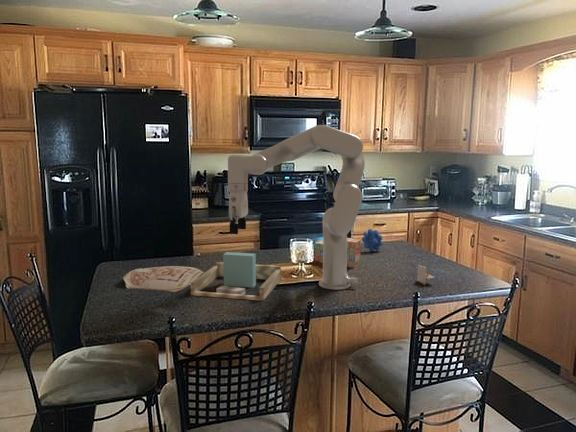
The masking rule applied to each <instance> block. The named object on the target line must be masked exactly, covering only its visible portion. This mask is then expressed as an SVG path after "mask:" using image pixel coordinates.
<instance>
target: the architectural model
mask: <svg viewBox="0 0 576 432" xmlns="http://www.w3.org/2000/svg"><path fill="white" fill-rule="evenodd" d="M428 279H435V276H433V275H431V274H430V273H429V272H427V266H422V265H420V264H417V282H419V283H421V284H423V285H426V280H428Z"/></svg>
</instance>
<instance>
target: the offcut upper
mask: <svg viewBox="0 0 576 432" xmlns="http://www.w3.org/2000/svg"><path fill="white" fill-rule="evenodd" d="M216 293H228V294H241V295H246V287H237V286H224V285H220V286H219V287H217V288H216Z"/></svg>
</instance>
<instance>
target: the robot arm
mask: <svg viewBox="0 0 576 432" xmlns="http://www.w3.org/2000/svg"><path fill="white" fill-rule="evenodd" d="M320 149H323V150H326V151H328V152H330V153H334V154H337V155H340V157H341V159H342V167H341V170H340V174H339V176H338V178H337V179H338V180H337V181H336V185H335V187H334V189H333V193H332V197H333V199H334V204H333V206H332V207H329V208H328V209H326V210H325V212H324V213H323V216H322V221H321V222H322V237H323V238H322V241H323V263H322V279H321V280H319V282H318V285H319V287H320V288H323V289H325V290H326V289H327V290H331V291H333V290H335V291H340V290H346V289H348V288H350V287H351V283H353V284H358V280H359V279H358V278H357V277H356V276H350V275H349V273H348V272H347V270H348V267H347V238H348V234H349V233H350V232H351V231H352V229H353V227H354V225H355V222H356V219H357V217H358V216H357V215H358V213H359V211H360V208H361V205H362V202H363V193H362V190H361V189H360V184H361V182H362V178H363V175H364V171H365V167H366V166H365V164H366V162H365V157H364V153H363V149H364V142H363V140H362V139H361V138H360V137H358V136H357V135H355V134H351V133H349V132H347V131H343V130H340V129H337V128H334V127H332V126H329V125H326V124H317V125H315V126H312V127H310V128H309V129H306V130H303V131H302V132H299V133H297V134H294V135H292V136H290V137H289V138H286V139H284V140H282V141H280V142H278V143H276V144H274V145H272V146H270V147H267V148H265V149H263V150H261V151H259V152H256V153H254V154H252V155H249V156H248V155H243V154H232V155H229V156H228V157H227V191H228V193H229V197H228V199H229V200H228V217H229V218H228V220H229V234H230V235H239V230H246V228H247V216H248V214H249V201H248V200H249V199H248V198H249V197H248V192H249V191H248V190H249V188H248V187H249V186H248V182H249V180H248V178H249V177H248V176H249V175H255V176H260V175H263V174H265V173H266V172H267V170H269V169H270V168H272V167H275V166H278V165H280V164H282V163H287V162H292V161H295V160H298V159H300V158H303V157H305V156H307V155H309V154H310V153H313V152H315V151H318V150H320Z"/></svg>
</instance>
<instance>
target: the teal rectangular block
mask: <svg viewBox="0 0 576 432" xmlns="http://www.w3.org/2000/svg"><path fill="white" fill-rule="evenodd" d="M256 255H257V254H256V253H249V252H248V253H247V252H232V251H226V252H224V254H223V255H222V262H223V272H224V277H223V286H229V287H237V288H255V286H256V285H257V279H256V264H257V263H256V262H257V259H256V258H257V257H256Z"/></svg>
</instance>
